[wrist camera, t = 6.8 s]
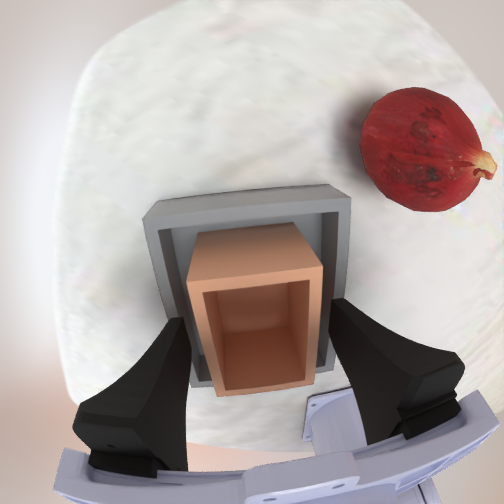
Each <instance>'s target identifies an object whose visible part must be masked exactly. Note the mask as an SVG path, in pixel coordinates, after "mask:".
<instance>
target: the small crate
mask: <svg viewBox="0 0 504 504" xmlns="http://www.w3.org/2000/svg"><path fill="white" fill-rule="evenodd" d="M322 278H323V265H322V264H321V262H320V261H319V259H318V258H317V256H316V255H315V253H314V252H313V250H312V249H311V247H310V246H309V244H308V243H307V241H306V240H305V238H304V237H303V235H302V234H301V232H300V231H299V229H298V228H297V227H296V225H295V224H294V222H287V223H277V224H267V225H258V226H249V227H240V228H231V229H223V230H214V231H206V232H198V234H197V238H196V242H195V246H194V251H193V255H192V259H191V263H190V268H189V272H188V277H187V281H186V283H187V287H188V292H189V296H190V300H191V304H192V308H193V312H194V316H195V320H196V324H197V328H198V332H199V336H200V339H201V343H202V347H203V350H204V354H205V357H206V361H207V364H208V368H209V371H210V375H211V378H212V381H213V385H214V388H215V391H216V394H217V397H222V396H234V395H244V394H253V393H261V392H269V391H276V390H283V389H289V388H295V387H301V386H306V385H312V384H314V378H315V370H316V360H317V350H318V339H319V327H320V313H321V297H322Z"/></svg>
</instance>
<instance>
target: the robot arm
mask: <svg viewBox="0 0 504 504" xmlns="http://www.w3.org/2000/svg"><path fill="white" fill-rule="evenodd" d="M328 332H329V336H330V339H331V342H332V345H333V348H334V350H335V352H336V354H337V356H338V358H339V360H340V363H341V365H342V367H343V369H344V371H345V373H346V375H347V377H348V379H349V382H350V384H351V386H352V388H349V389H345V390H341V391H336V392H332V393H328V394H323V395H318V396H313V397H311V398H309V399H308V404H307V411H306V419H305V425H304V432H303V442H310V441H312V443H313V447H314V451H315V454H316V456H313V457H308V458H304V459H298V460H293V461H286V462H280V463H273V464H266V465H261V466H256V467H253V468H251V469H248V470H241V471H224V472H223V471H221V472H188V462H187V450H186V449H187V448H186V401H187V393H188V386H189V379H190V372H191V364H192V347H191V343H190V340H189V336H188V333H187V329H186V326H185V322H184V318H183V317H174V318H170V320H169V321H168V322H167V324H166V325H165V327H164V328H163V330H162V331H161V332H160V334H159V335H158V337H157V338H156V339H155V341H154V342H153V343H152V345H151V346H150V347H149V349H148V350H147V351H146V352H145V353H144V355H143V356H142V357H141V358H140V359H139V360H138V362H137V363H136V364H135V365H134V366H133V367H132V368H131V369H130V370H129V371H127V372H126V373H125V374H124V375H123V376H122V377H120V378H119V379H118V380H117V381H116V382H114V383H113V384H112V385H110V386H109V387H107V388H106V389H104V390H103V391H101V392H100V393H98V394H97V395H95V396H93V397H91V398H89V399H87V400H86V401H84V402H82V403H80V406H79V408H78V411H77V414H76V417H75V420H74V423H73V430H74V432H75V434H76V435H77V436H78V437H79V438H80V439H81V440H82V441H83V442H84V443H85V444H86V445H87V446H88V447H89V448H90V449H91V454H90V455H89V454H87V453H85V452H81V451H77V450H73V449H69V448H64V449H63V452H62V456H61V459H60V463H59V467H58V470H57V475H56V478H55V483H54V487H53V490H54V492H56V493H58V494H59V495H61V496H63V497H65V498H66V499H68V500H70V501H72V502H73V503H75V504H441V502H440V499H439V495H438V493H437V490H436V488H435V485H434V483H433V481H432V478H431V477H432V476H434V475H436V474H437V473H439V472H441V471H442V470H444V469H446V468H447V467H449V466H451V465H452V464H454V463H455V462H457V461H459V460H460V459H462V458H463V457H465V456H466V455H468V454H469V453H471V452H472V451H473V450H475V449H476V448H477V447H478V446H479V445H480V444H481V443H482V442H484V441H485V440H486V438H488V437H489V436H490V435H491V434H492V432H493V431H494V430H495V429H496V428H497V427H498V426H499V425H500V422H499V421H498V419H497V417H496V416H495V414H494V413H493V411H492V410H491V408H490V407H489V405H488V404H487V402H486V401H485V399H484V398H483V396H482V395H481V393H480V392H479V391H478V390H476V391H474V392H472V393H470V394H469V395H467V396H465V397H464V398H462V399H461V400H460V401H458V402H457V401H456V399H455V398H456V396H457V393H456V392H455V390H454V389H455V387H456V386H457V384H458V382H459V381H460V379H461V377H462V375H463V373H464V370H465V365H464V363H463V362H462V361H461V359H460V358H459V357H458V355H457V354H456V353H455V352H451V351H445V350H440V349H436V348H432V347H429V346H426V345H423V344H420V343H417V342H414V341H412V340H409V339H407V338H405V337H403V336H400V335H399V334H397V333H395V332H393V331H391V330H389V329H387V328H386V327H384V326H382V325H381V324H379V323H377V322H376V321H374V320H373V319H372V318H370V317H369V316H367V315H366V314H364V313H363V312H362V311H360V310H359V309H358V308H356V307H355V306H354V305H352V304H351V303H350V302H348V301H347V300H345V299H344V298H338V299H331V308H330V318H329V327H328ZM424 502H425V503H424Z"/></svg>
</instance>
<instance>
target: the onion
mask: <svg viewBox="0 0 504 504" xmlns="http://www.w3.org/2000/svg"><path fill="white" fill-rule="evenodd" d="M360 149H361V153H362V157H363V161H364V165H365V169H366V173H367V174H368V175H369V177H370V178H371V179H372V181H373V182H374V184H375V185H376V186H377V188H378V189H379V190H380V191H381V192H382V193H383V194H384V195H385V196H386V197H387V198H389V199H391V200H393V201H395V202H396V203H398V204H400V205H402V206H404V207H407V208H409V209H411V210H413V211H421V212H440V211H446V210H448V209H450V208H452V207H454V206H456V205H457V204H459V203H461V202H462V201H464V200H465V199H466V198H467V197H469V196H470V194H471V193H472V192H473V190H474V189H475V188H476V187H477V185H478V183H479V181H480V178H481V177H484V178H485V179H488V180H490V179H492V178H493V176H494V173H495V172H496V169H497V164H496V163H495V162H494V160H493V158H492V156H491V154H490V153H489V152H486V151H483V150H482V145H481V142H480V139H479V137H478V134H477V132H476V129H475V127H474V125H473V124H472V122H471V121H470V119H469V118H468V117H467V115H466V114H465V113H464V112H463V111H462V109H461V108H460V107H459V106H458V105H457V104H456V103H455V102H454V101H453V100H451V99H450V98H448V97H446V96H444V95H441V94H439V93H436V92H434V91H431V90H428V89H426V88H419V87H411V88H405V89H400V90H396V91H393V92H391V93H388V94H387V95H385V96H384V97H383V98H381V99H380V100H378V101H377V102H376V103H374V105H373V107H372V108H371V110H370V112H369V114H368V116H367V118H366V119H365V121H364V123H363V127H362V134H361V141H360Z"/></svg>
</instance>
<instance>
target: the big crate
mask: <svg viewBox="0 0 504 504" xmlns="http://www.w3.org/2000/svg"><path fill="white" fill-rule="evenodd" d="M350 216H351V197H349V196H347V195H346V194H344V193H342V192H341V191H339V190H338V189H336V188H334V187H332V186H331V185H329V184H323V185H306V186H291V187H277V188H265V189H254V190H243V191H233V192H224V193H215V194H207V195H199V196H191V197H183V198H176V199H169V200H162V201H157V202H156V203H155V204H154V206H153V207H152V208H151V209H150V210H149V211H148V212H147V214H146V215H145V216H144V217H143V218H142V221H143V226H144V230H145V235H146V239H147V244H148V248H149V252H150V256H151V260H152V264H153V268H154V272H155V276H156V280H157V283H158V287H159V291H160V294H161V298H162V301H163V305H164V308H165V311H166V315H167V318H168V321H169V320H170V318H174V317H183V318H184V322H185V326H186V329H187V333H188V336H189V340H190V343H191V347H192V364H191V372H190V379H189V382H190V385H191V388H197V387H214V385H213V381H212V378H211V375H210V371H209V368H208V364H207V361H206V357H205V354H204V350H203V347H202V343H201V339H200V336H199V332H198V328H197V324H196V320H195V316H194V312H193V308H192V304H191V300H190V296H189V292H188V287H187V283H186V281H187V277H188V272H189V268H190V263H191V259H192V255H193V251H194V246H195V242H196V238H197V234H198V232H206V231H214V230H223V229H231V228H240V227H249V226H258V225H267V224H277V223H287V222H294V224H295V225H296V227H297V228H298V229H299V231H300V232H301V234H302V235H303V237H304V238H305V240H306V241H307V243H308V244H309V246H310V247H311V249H312V250H313V252H314V253H315V255H316V256H317V258H318V259H319V261H320V262H321V264H322V265H323V278H322V297H321V313H320V327H319V339H318V350H317V360H316V370H315V374H316V373H321V372H326V371H331V370H333V367H334V362H335V356H336V352H335V350H334V348H333V345H332V342H331V339H330V336H329V332H328V327H329V318H330V308H331V299H338V298H344V293H345V284H346V274H347V263H348V250H349V235H350Z"/></svg>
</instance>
